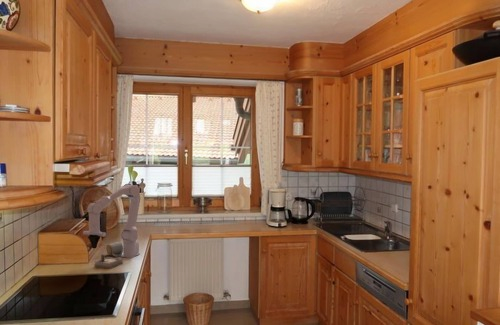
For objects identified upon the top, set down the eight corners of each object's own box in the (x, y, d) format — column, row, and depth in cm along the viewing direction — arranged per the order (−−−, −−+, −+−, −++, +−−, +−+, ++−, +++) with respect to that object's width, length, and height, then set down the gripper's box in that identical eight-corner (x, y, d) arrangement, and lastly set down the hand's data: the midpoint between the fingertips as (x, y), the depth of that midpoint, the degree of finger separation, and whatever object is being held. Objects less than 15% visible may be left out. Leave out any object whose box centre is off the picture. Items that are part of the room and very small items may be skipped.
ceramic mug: (105, 254, 237) (105, 242, 237) (118, 252, 243) (118, 240, 243) (113, 258, 230) (113, 245, 229) (125, 255, 235) (126, 243, 235)
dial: (112, 259, 221) (112, 251, 221) (118, 262, 215) (118, 254, 215) (99, 262, 216) (98, 253, 216) (103, 265, 210) (103, 256, 210)
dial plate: (106, 261, 222) (106, 256, 222) (122, 263, 218) (122, 258, 218) (94, 266, 212) (94, 261, 212) (110, 268, 209) (110, 263, 209)
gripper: (79, 224, 215) (79, 248, 215) (99, 226, 210) (99, 250, 210) (88, 222, 221) (88, 245, 222) (108, 224, 216) (108, 247, 217)
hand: (94, 248), depth 216 cm, fingers closed
